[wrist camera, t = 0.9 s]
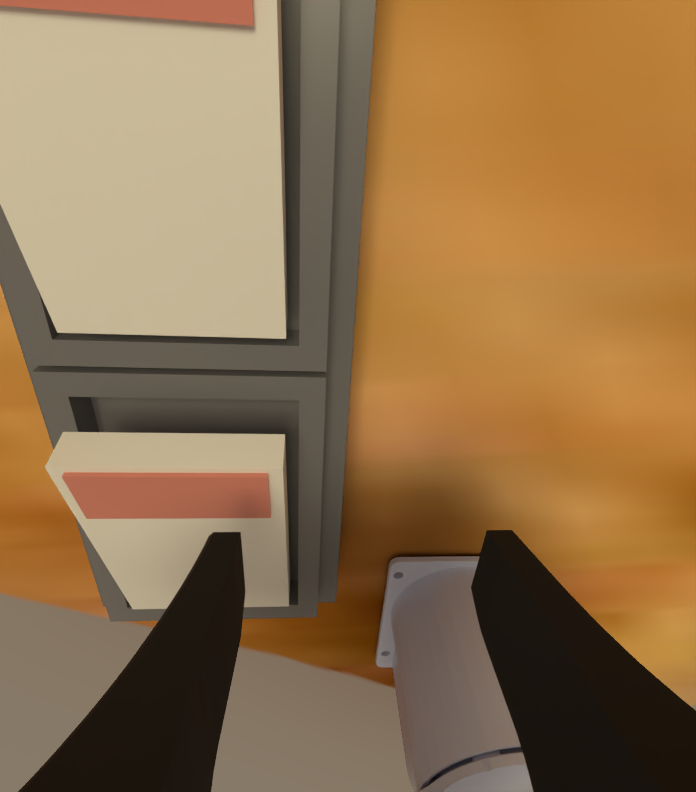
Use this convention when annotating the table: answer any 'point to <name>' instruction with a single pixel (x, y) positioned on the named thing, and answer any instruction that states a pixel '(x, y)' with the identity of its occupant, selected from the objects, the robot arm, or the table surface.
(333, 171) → the switch box
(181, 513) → the rocker far
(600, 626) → the robot arm
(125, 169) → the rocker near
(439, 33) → the table surface
